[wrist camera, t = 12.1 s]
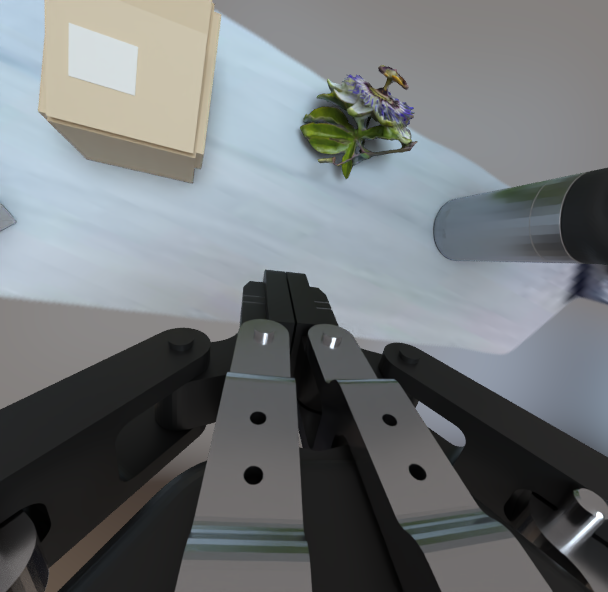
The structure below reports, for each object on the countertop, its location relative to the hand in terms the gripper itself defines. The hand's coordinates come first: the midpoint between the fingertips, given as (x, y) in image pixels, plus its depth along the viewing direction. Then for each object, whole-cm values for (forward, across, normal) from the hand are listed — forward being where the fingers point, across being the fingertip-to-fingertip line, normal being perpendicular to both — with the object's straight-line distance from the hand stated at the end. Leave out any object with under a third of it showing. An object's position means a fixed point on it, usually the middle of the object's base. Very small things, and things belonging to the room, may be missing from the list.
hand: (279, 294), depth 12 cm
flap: (+19, +11, -7) cm, 22 cm away
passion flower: (+34, -10, -6) cm, 36 cm away
